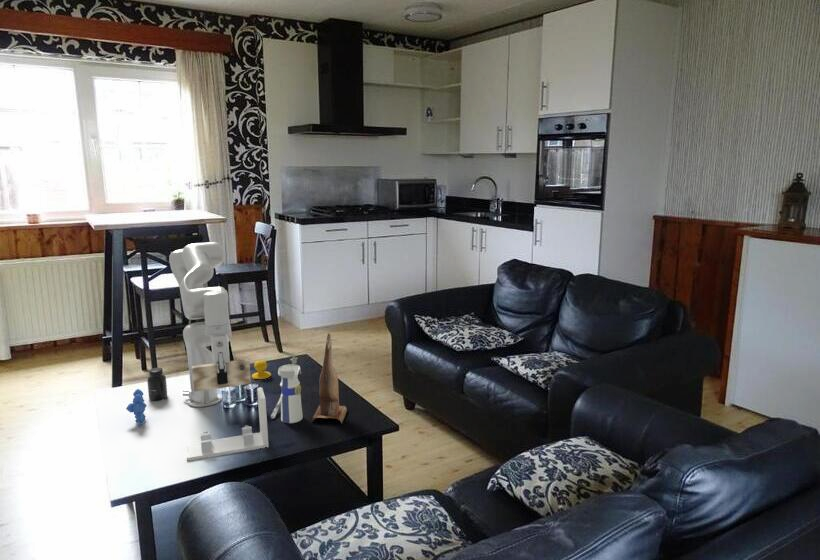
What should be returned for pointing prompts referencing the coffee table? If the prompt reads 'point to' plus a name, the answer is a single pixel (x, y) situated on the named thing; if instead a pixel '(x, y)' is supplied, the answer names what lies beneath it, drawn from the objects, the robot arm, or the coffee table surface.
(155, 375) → the supplement bottle
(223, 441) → the hinge base
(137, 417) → the grapes
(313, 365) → the coffee table surface
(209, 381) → the door
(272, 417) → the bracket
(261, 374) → the doorknob
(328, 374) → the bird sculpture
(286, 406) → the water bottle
